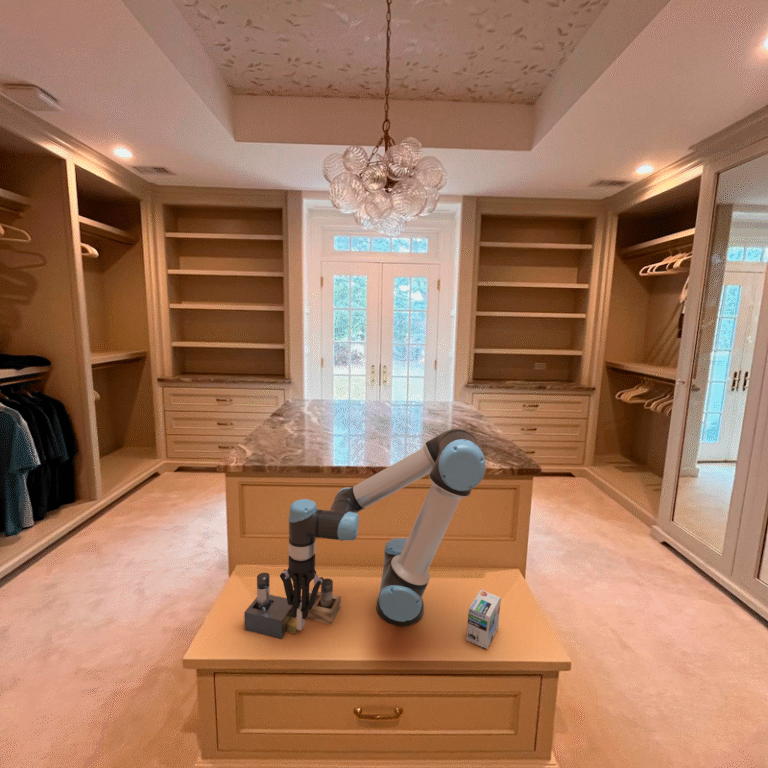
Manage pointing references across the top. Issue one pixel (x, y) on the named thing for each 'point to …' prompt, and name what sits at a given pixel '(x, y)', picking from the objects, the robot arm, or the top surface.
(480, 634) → the light bulb box
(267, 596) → the grey peg
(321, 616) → the rack
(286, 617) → the socket block
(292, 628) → the yellow rectangular block
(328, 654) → the top surface
